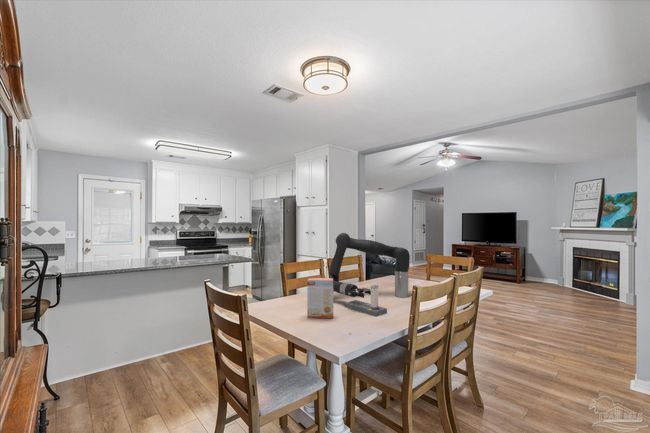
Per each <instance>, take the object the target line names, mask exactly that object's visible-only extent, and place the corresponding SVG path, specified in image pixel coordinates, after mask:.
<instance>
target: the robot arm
mask: <svg viewBox="0 0 650 433" xmlns="http://www.w3.org/2000/svg"><path fill="white" fill-rule="evenodd" d="M335 243H336V248H335V252H334V256H333V258H332V260H331V264H330V267H329V271H328V275H329V277H330V278H333V293H338V294H341V295H343V296H347V297H350V298H365V295H370V296H371V288H367V287H362V288H361V287H358V285H356V284H353V283H348V282H343V281H340V272H341V268H342V264H343V261H344V256H345V254H346V251H347V249H350V250H351V249H352V250H355V251H359V252H363V253H366V254H369V255H374V256H383V257H389V258H392V259H395V267H394V296H395V297H397V298H408V297H409V268H410V263H411V262H410V261H411V258H410V257H411V256H410V252H409V251H408V249H406V248H404V247H398V246H392V245H391V246H390V245H386V244H384V243H382V242H379V241H374V240H371V239H361V238H360V239H359V238H353V237H350V235H349V234H348V233H346V232H341V233H339V234H338V235H337V236H336V238H335Z"/></svg>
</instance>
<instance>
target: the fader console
mask: <svg viewBox="0 0 650 433" xmlns="http://www.w3.org/2000/svg"><path fill="white" fill-rule="evenodd" d="M370 306H371V303H368V302H365V301H362V300H361V301H360V300H358V299H354V300H351V301H347V302H344V308H346V309H350V310H353V311H357V312H360V313H363V314H366V315H370V316H373V317H378V316H381V315H385V314H387V313H388V308H387V307H383V306H380V305H378V306H379V308H377V309H373V308H370Z"/></svg>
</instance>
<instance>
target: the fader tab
mask: <svg viewBox="0 0 650 433" xmlns="http://www.w3.org/2000/svg"><path fill="white" fill-rule="evenodd" d="M370 291H371V295H370V304H371V306H370V308H373V309H377V308H379V306H380V305H379V285H377V284H371V285H370Z"/></svg>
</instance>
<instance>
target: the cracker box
mask: <svg viewBox="0 0 650 433" xmlns="http://www.w3.org/2000/svg"><path fill="white" fill-rule="evenodd" d="M306 290H307V293H306V294H307V295H306V296H307V304H306V305H307V308H306V309H307V310H306V311H307V318H308V319H309V318H313V319H317V318H318V319H334V318H333V317H334V292H333V278H331V277H329V278H328V277H308V279H307V287H306Z"/></svg>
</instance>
